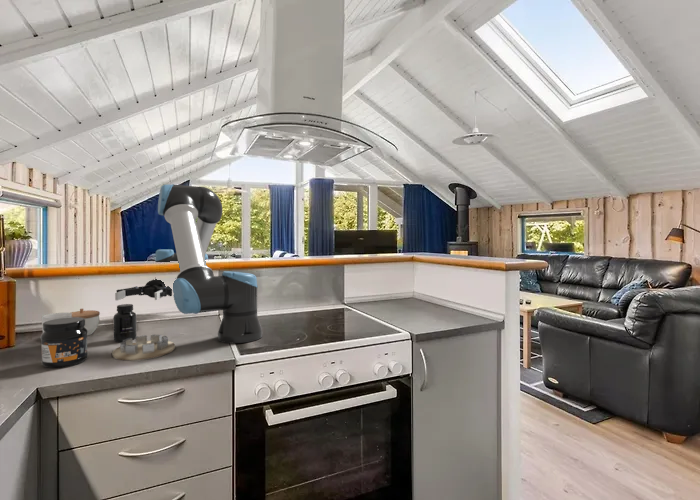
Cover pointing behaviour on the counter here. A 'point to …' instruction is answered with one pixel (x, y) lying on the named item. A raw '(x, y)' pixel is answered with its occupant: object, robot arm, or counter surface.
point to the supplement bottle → (124, 323)
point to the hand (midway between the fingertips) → (136, 296)
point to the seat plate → (140, 355)
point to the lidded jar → (88, 319)
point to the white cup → (54, 317)
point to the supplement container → (64, 342)
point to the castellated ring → (131, 349)
